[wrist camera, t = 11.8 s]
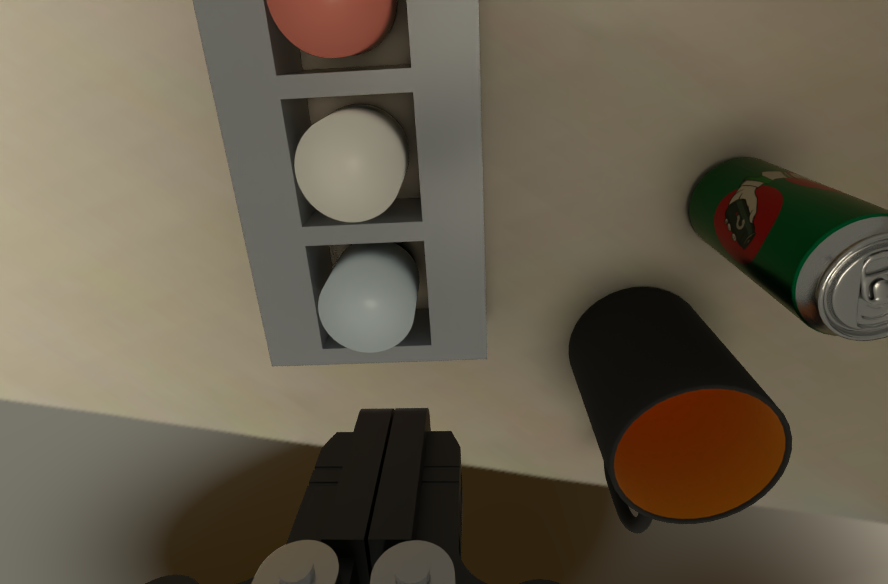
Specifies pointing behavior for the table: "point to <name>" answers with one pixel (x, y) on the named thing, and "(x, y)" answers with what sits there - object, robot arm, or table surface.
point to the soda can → (799, 244)
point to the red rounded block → (334, 24)
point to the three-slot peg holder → (413, 219)
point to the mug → (673, 412)
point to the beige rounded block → (352, 163)
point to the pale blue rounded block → (370, 297)
